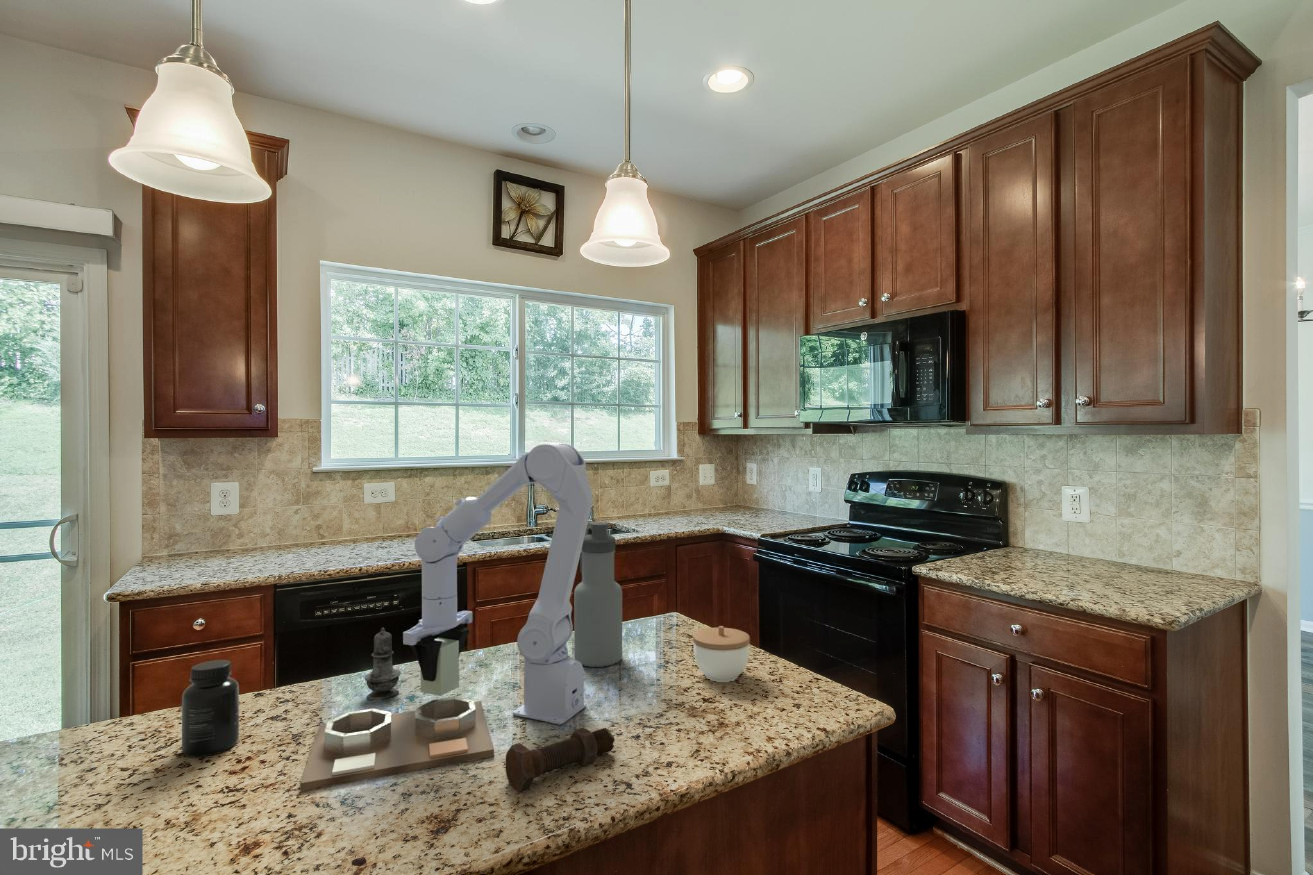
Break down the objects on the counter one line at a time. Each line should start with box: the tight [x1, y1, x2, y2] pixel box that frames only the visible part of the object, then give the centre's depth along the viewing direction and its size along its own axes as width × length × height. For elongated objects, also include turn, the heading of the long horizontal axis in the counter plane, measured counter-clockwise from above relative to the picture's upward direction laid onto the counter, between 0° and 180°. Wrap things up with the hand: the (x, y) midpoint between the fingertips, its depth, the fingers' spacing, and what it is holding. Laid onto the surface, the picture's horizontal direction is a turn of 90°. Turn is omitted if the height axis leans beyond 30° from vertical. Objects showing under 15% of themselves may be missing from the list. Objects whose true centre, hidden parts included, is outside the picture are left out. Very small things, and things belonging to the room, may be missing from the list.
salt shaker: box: [364, 626, 402, 703], centre depth 111 cm, size 6×6×12 cm
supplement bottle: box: [181, 659, 240, 758], centre depth 92 cm, size 7×7×12 cm
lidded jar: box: [692, 625, 751, 683], centre depth 119 cm, size 11×11×9 cm
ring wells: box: [325, 696, 476, 755], centre depth 94 cm, size 21×9×2 cm, turn 111°
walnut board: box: [300, 700, 495, 792], centre depth 93 cm, size 24×18×1 cm
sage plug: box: [420, 637, 460, 697], centre depth 108 cm, size 4×4×8 cm
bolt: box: [504, 727, 616, 794], centre depth 85 cm, size 6×5×15 cm
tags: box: [332, 738, 468, 775], centre depth 87 cm, size 17×4×1 cm, turn 111°
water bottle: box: [573, 521, 623, 668], centre depth 129 cm, size 10×10×28 cm
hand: (439, 674), depth 108 cm, fingers closed on sage plug, 4 cm apart
